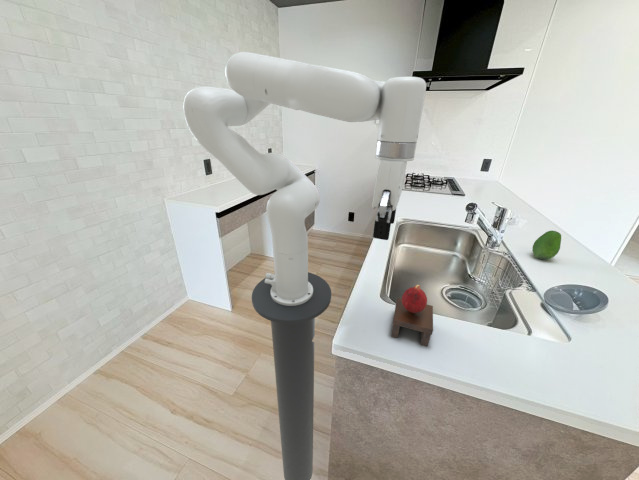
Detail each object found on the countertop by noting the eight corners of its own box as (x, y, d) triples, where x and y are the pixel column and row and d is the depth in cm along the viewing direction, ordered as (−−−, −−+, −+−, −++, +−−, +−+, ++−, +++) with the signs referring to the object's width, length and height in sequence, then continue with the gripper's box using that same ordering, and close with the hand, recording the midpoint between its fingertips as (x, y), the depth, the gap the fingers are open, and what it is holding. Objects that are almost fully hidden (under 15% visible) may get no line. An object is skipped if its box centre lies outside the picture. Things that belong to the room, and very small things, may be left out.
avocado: (558, 264, 98) (572, 235, 93) (535, 262, 99) (547, 233, 94) (546, 254, 105) (558, 227, 100) (524, 252, 106) (535, 225, 101)
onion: (421, 323, 61) (428, 296, 58) (397, 314, 64) (402, 288, 60) (425, 308, 66) (432, 283, 62) (402, 301, 68) (407, 276, 65)
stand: (390, 336, 65) (393, 319, 62) (394, 313, 72) (397, 297, 70) (428, 347, 62) (433, 330, 59) (428, 321, 69) (432, 305, 67)
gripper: (382, 145, 59) (374, 215, 67) (367, 155, 45) (359, 242, 52) (417, 147, 57) (404, 219, 65) (412, 158, 43) (397, 249, 50)
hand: (384, 229), depth 59 cm, fingers open, 9 cm apart
